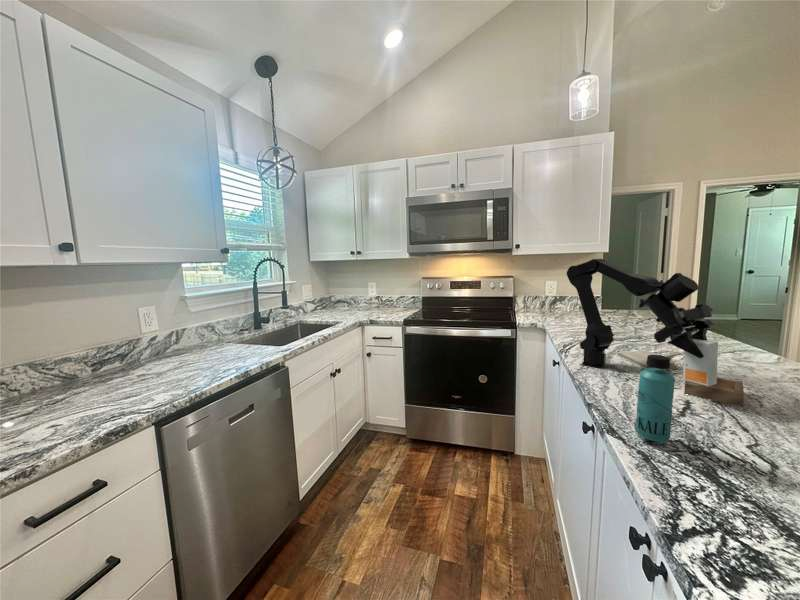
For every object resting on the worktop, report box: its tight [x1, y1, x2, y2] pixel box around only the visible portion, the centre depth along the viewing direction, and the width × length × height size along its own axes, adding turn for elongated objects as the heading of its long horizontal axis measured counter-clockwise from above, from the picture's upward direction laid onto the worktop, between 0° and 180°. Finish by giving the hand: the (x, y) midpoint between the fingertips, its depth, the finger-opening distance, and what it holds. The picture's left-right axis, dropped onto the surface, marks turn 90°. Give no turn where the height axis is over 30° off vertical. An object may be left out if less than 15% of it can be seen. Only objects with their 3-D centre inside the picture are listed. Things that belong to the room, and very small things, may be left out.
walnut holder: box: [683, 376, 745, 407], centre depth 96 cm, size 12×12×4 cm
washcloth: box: [616, 350, 679, 371], centre depth 125 cm, size 12×18×3 cm, turn 179°
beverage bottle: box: [634, 354, 676, 443], centre depth 72 cm, size 6×7×20 cm
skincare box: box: [682, 339, 719, 386], centre depth 92 cm, size 6×4×12 cm
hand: (706, 356), depth 90 cm, fingers closed on skincare box, 4 cm apart
